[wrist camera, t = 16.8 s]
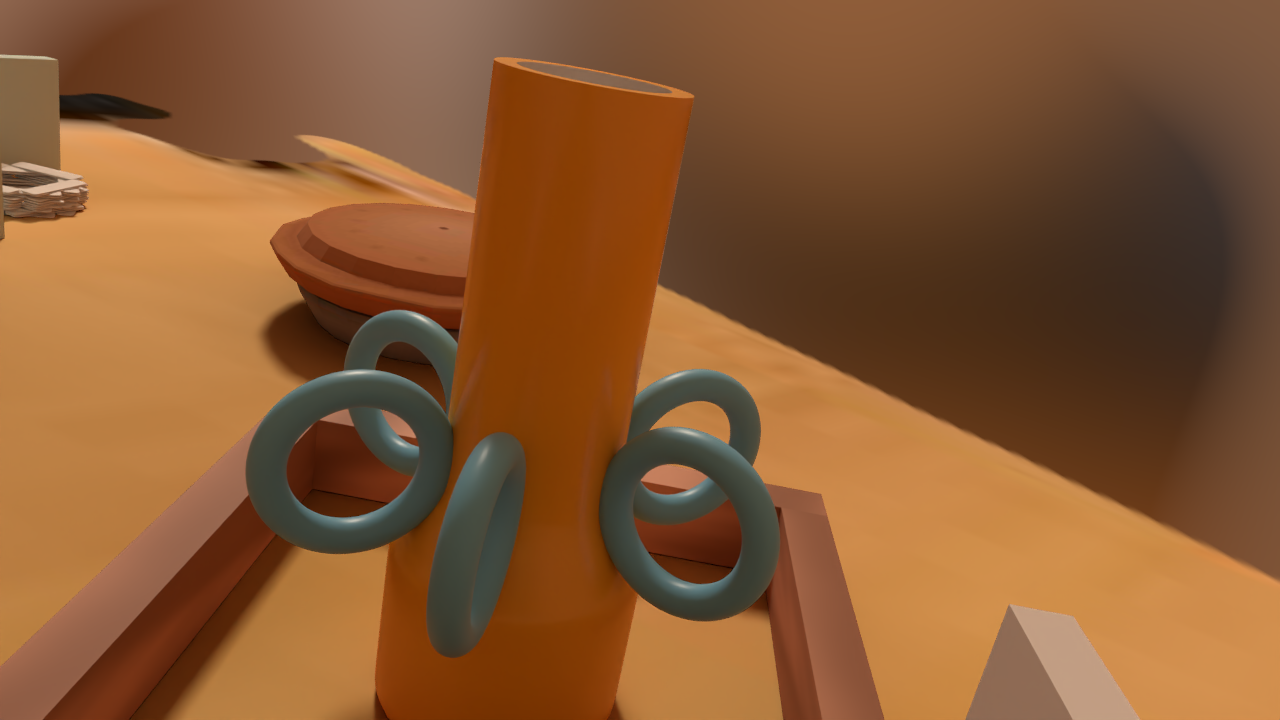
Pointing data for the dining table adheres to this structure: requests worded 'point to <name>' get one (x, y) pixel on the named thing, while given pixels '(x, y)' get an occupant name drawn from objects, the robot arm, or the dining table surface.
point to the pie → (379, 266)
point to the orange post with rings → (535, 424)
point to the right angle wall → (33, 142)
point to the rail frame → (341, 463)
